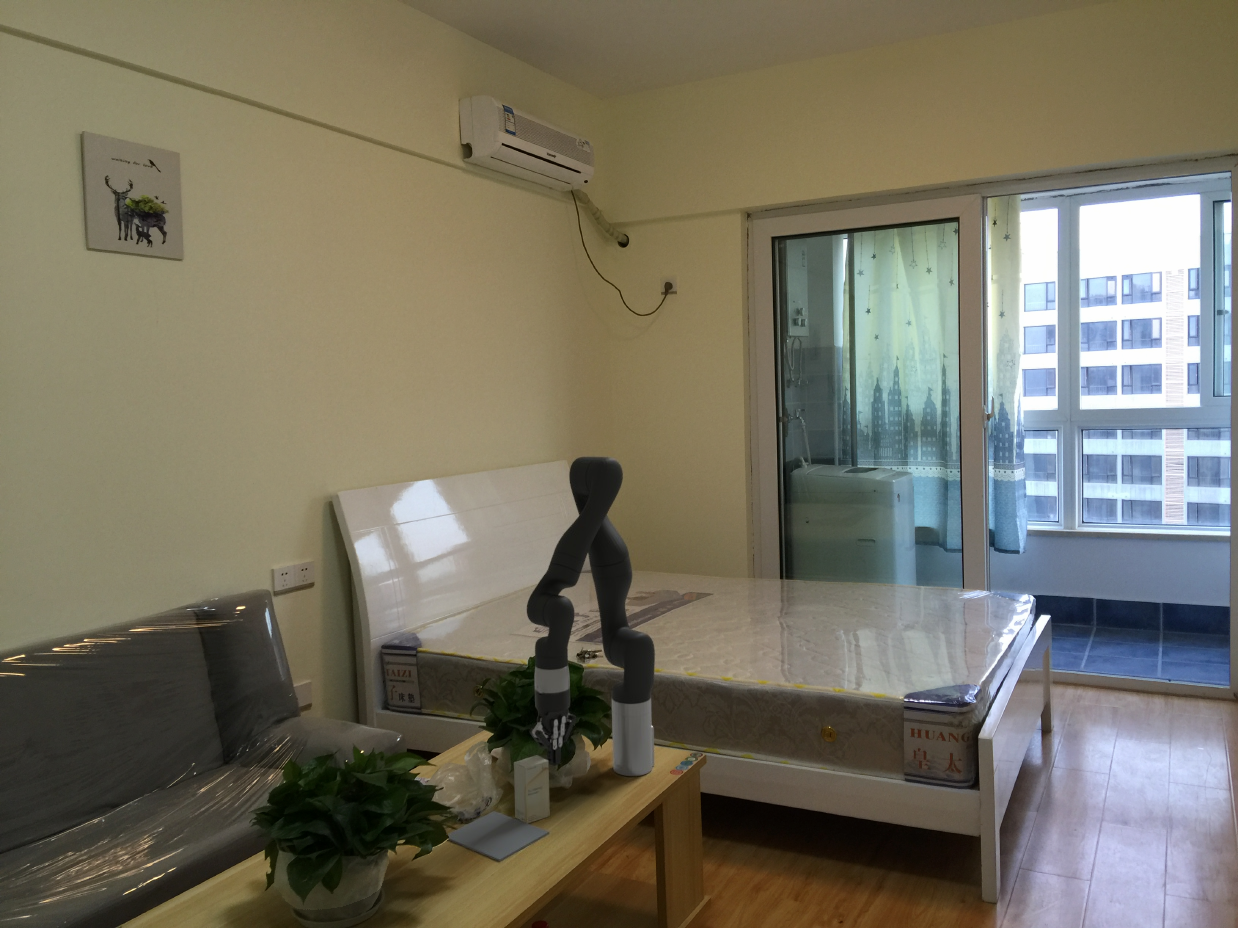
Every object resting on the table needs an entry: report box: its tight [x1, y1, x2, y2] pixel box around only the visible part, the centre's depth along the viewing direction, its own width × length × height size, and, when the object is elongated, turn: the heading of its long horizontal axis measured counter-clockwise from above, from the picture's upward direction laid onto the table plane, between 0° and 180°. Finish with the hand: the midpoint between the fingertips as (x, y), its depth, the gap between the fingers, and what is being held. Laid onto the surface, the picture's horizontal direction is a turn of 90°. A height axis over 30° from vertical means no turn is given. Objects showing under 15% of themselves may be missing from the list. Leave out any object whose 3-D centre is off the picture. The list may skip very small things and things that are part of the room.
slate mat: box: [447, 810, 550, 862], centre depth 195 cm, size 14×16×1 cm
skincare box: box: [513, 754, 551, 824], centre depth 202 cm, size 6×4×12 cm
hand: (554, 763), depth 208 cm, fingers closed
